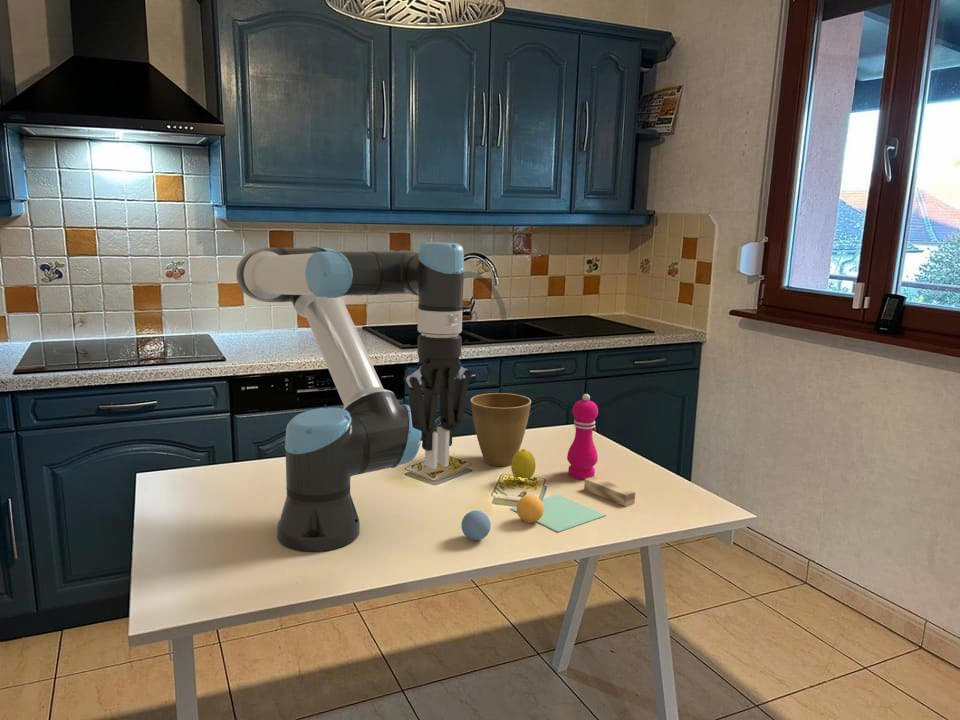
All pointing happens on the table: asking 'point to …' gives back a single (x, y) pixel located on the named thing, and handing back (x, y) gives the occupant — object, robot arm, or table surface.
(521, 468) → the lemon
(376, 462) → the robot arm
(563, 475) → the table surface
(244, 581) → the table surface
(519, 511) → the orange ball
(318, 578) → the table surface
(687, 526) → the table surface
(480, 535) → the blue ball
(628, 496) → the bar
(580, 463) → the pepper mill
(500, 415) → the plant pot
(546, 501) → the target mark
